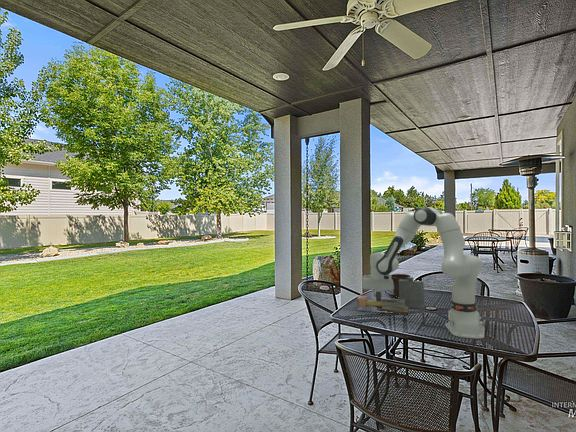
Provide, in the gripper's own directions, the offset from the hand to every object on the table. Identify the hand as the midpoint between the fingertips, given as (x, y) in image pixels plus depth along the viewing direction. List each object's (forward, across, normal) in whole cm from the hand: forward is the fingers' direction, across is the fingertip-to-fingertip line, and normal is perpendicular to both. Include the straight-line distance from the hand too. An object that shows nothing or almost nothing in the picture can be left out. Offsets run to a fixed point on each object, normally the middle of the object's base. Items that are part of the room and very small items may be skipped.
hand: (378, 296), depth 207 cm
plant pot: (+9, +12, +34) cm, 37 cm away
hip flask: (+9, +20, +11) cm, 25 cm away
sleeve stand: (+9, +2, 0) cm, 9 cm away
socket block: (+7, -11, 0) cm, 13 cm away
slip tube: (+6, -3, 0) cm, 7 cm away
